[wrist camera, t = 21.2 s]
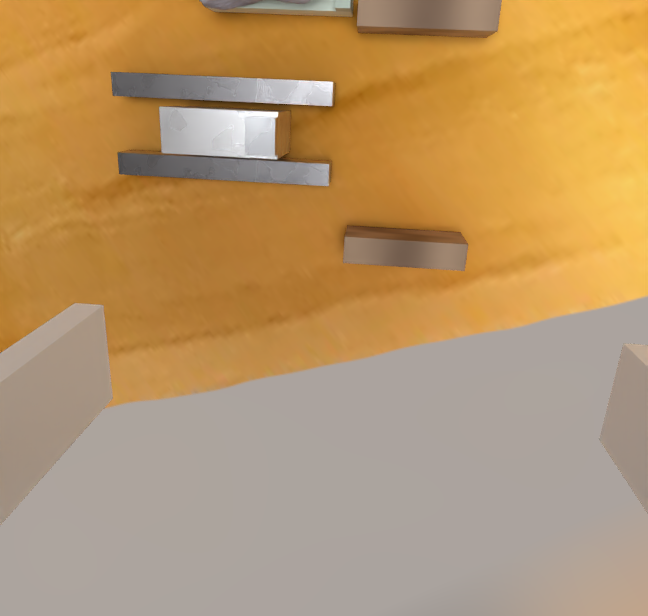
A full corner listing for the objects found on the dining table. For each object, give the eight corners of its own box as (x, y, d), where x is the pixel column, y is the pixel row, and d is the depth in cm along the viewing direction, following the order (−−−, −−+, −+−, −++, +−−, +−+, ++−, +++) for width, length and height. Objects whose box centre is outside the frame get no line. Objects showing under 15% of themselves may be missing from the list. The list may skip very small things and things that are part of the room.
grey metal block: (189, 146, 44) (156, 154, 38) (187, 105, 43) (153, 106, 36) (290, 151, 44) (274, 160, 37) (290, 110, 42) (275, 112, 36)
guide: (132, 170, 45) (119, 174, 43) (125, 73, 43) (110, 71, 40) (330, 181, 44) (328, 186, 42) (335, 82, 42) (333, 81, 39)
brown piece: (345, 249, 46) (343, 262, 42) (360, 1, 40) (358, -9, 36) (457, 256, 45) (464, 270, 42) (490, 5, 39) (502, -5, 35)
